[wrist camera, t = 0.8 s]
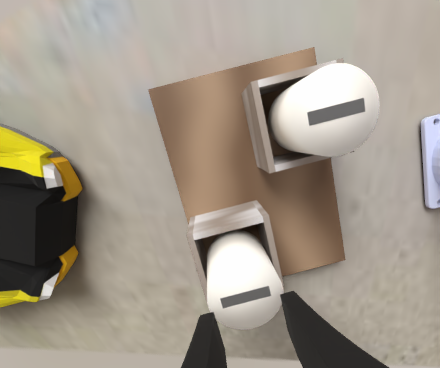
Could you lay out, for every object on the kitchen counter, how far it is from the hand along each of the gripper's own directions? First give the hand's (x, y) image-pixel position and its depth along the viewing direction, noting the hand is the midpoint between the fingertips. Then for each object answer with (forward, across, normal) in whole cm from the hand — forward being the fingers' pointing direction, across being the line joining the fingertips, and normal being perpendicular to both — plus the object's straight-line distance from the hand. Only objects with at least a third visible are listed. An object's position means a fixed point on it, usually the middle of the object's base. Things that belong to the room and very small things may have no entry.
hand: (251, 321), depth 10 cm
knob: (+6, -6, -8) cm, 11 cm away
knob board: (+10, -3, -4) cm, 11 cm away
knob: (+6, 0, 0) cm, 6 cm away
